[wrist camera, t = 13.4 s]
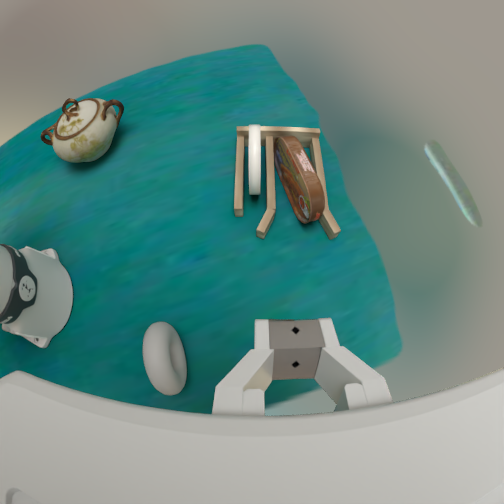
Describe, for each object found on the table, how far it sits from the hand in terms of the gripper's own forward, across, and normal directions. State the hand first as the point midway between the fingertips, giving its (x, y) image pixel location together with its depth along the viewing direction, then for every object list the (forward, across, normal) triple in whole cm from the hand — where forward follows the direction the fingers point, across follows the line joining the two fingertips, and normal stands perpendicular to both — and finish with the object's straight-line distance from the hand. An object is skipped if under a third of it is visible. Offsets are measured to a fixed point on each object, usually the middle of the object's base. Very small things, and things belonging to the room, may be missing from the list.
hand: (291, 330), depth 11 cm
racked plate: (+39, +2, +3) cm, 39 cm away
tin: (+38, -5, +4) cm, 38 cm away
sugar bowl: (+47, +36, -5) cm, 59 cm away
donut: (+18, +13, +24) cm, 33 cm away
